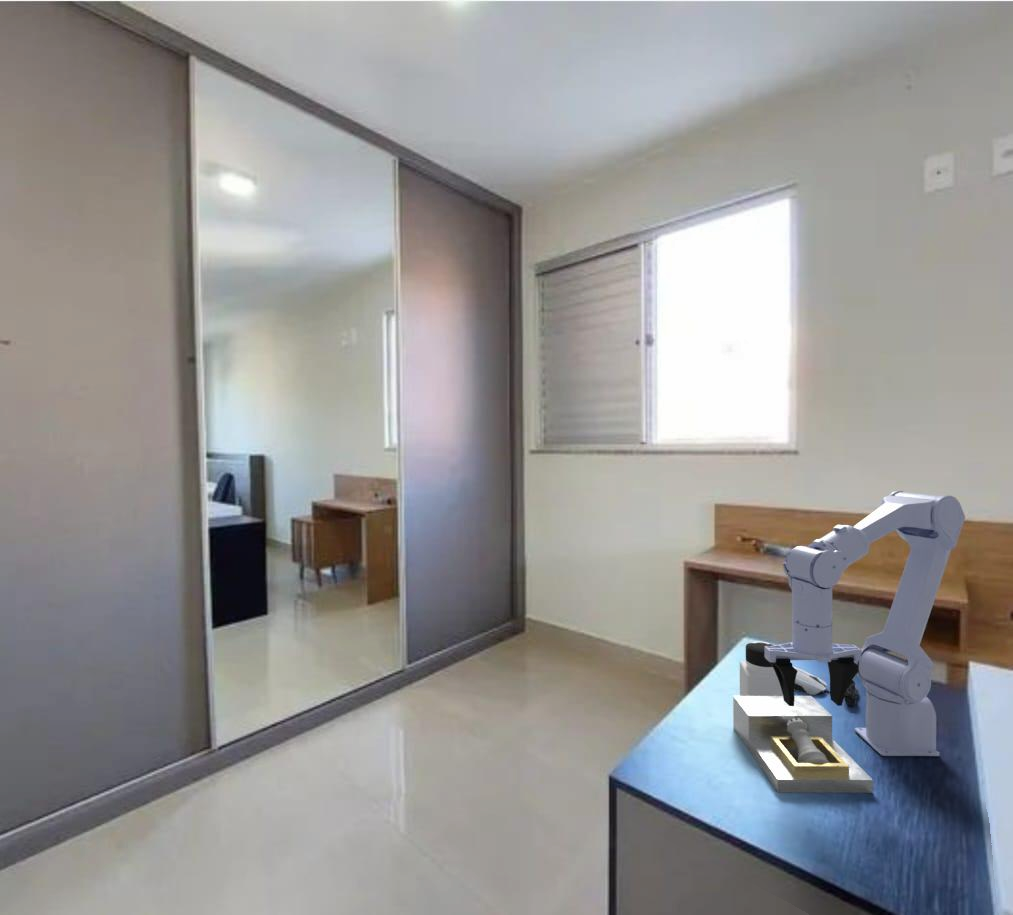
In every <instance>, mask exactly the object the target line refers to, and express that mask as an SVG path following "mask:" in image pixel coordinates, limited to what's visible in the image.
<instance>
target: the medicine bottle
mask: <svg viewBox="0 0 1013 915" xmlns="http://www.w3.org/2000/svg"><path fill="white" fill-rule="evenodd" d="M774 645H775V644H772V643H769V642H766V641H761V640H760V641H759V640H758V641H757V640H755V641H750V642H748V643H746V645H745V660H740V661H739V694H740V695H739V696H783V694H782V690H781V686H780V683H779V680H778V678H777V675H776V673H775V671H774V669H773V667H772V665H771V663H770V662H769V661H768V660H767V659H766V658H765V648H764V647H765V646H774Z"/></svg>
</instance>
